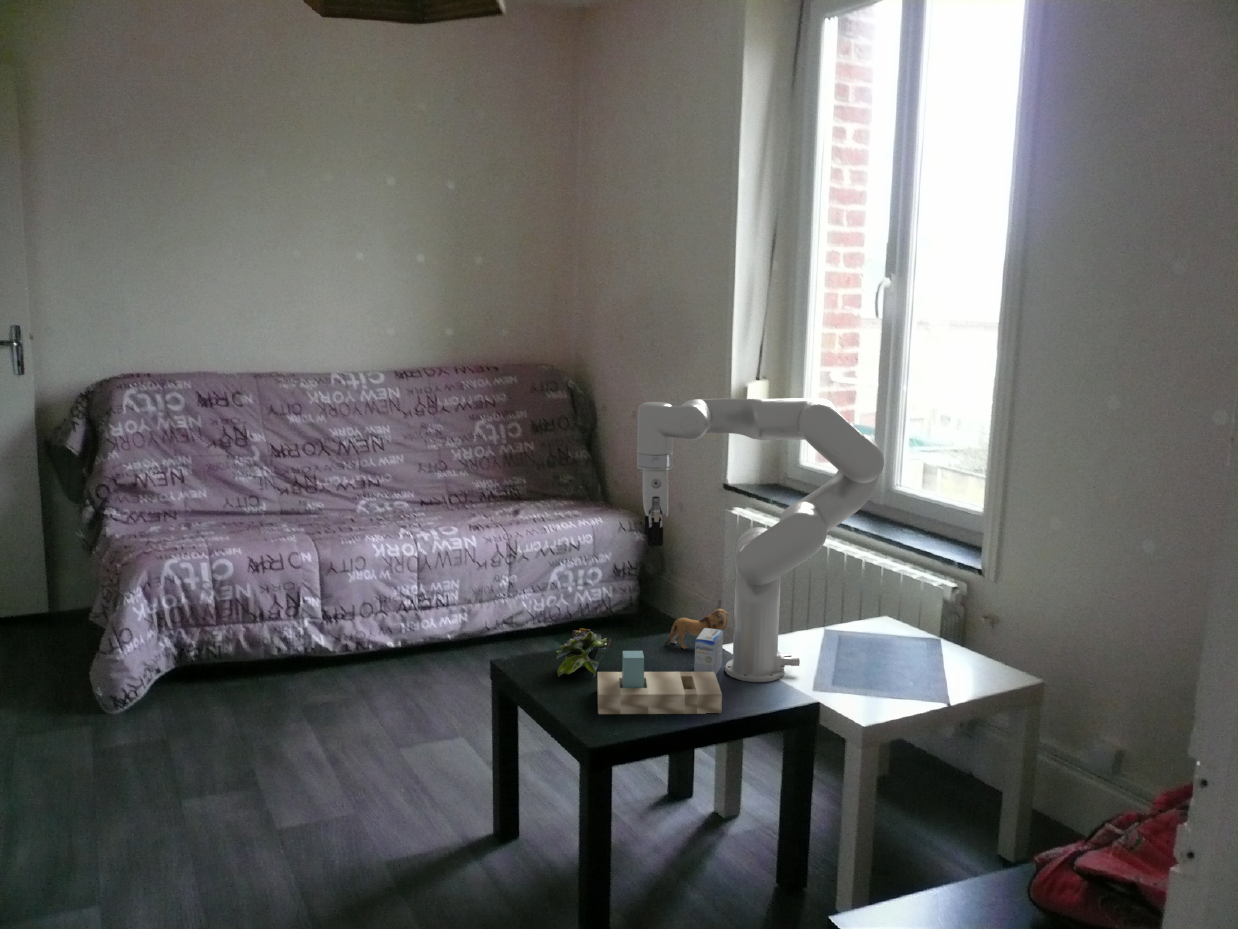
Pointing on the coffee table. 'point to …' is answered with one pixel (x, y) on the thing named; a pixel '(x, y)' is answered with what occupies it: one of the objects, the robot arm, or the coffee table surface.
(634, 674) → the square peg
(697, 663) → the medicine box
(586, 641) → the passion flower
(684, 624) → the lion figurine
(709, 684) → the bore board
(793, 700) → the coffee table surface
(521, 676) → the coffee table surface
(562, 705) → the coffee table surface
